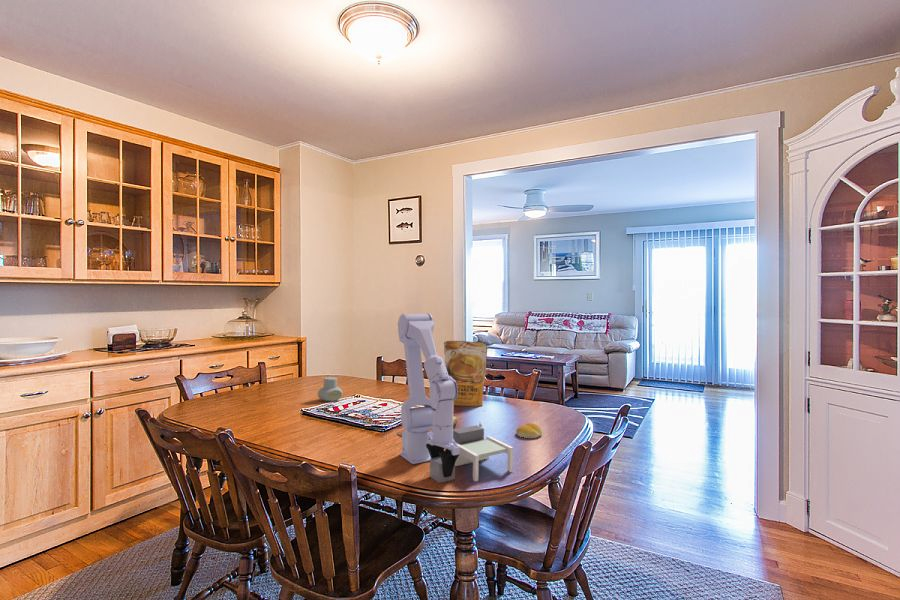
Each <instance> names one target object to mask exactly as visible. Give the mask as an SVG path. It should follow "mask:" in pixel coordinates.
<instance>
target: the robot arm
mask: <svg viewBox="0 0 900 600" xmlns="http://www.w3.org/2000/svg"><path fill="white" fill-rule="evenodd" d="M434 322H435V320H434V317H433V316H432V314H431V313H428V312H427V313H407V314H405V313H401V314H400V316H399V318H398V321H397V331H398V332H397V333H398V339H399V340H398V341H399V342H400V343H402V344H403V346H404V356H405V358H404V359H405V366H406V375H407V385H408V395H409V397H408V398H407V399H406V400H405V401H404V402H403V403H402V404H401V407H400V408H401V413H400V423H401V425H402V427H403V431H402V432H403V433H402V436H401V452H399V453H398V454H399V455H400V456H401V457H402V458H403V459H405V460H406V461H408V462H409V463H410V464H412V465H416V464H421V463H425V462H430V458H435V457H440V458H441V461H442V467H443V475H444V477H445V478H446V477H450V476H451V475H452V472H453V468H454V465H455V462H456V460H457V458H458V456H459V455H460V447H459V446H458V445H457V444H456V442H455V441H454V439H453V429H454V428H453V416H454V401H453V400H455V399H456V398H457V395H458V387H457V384H456V381H455V380H454V379H453V378H452V377H451V376H449V375H448V372H447V369H446V366H445V360H444V359H443V357H442V356H439V354H438V353H437V349H436V348H437V347H436V343H435V341H434V337H433V332H434V327H435V323H434ZM422 354H423V356H424V359H425V361H424V363H423V361H422V360H423V359H422ZM423 367H424V369H423ZM424 371H425V373H426V376H427V379H428V382H429V387H428V388H429V389H428V394H429V397H430V398H429V397H428V396H426V388H425V387H426V386H425V380H424V379H425V377H424ZM416 406H417V407H416ZM419 406H420V407H419ZM413 407H414V408H413ZM430 430H431V431H430Z"/></svg>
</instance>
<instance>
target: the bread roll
mask: <svg viewBox="0 0 900 600" xmlns="http://www.w3.org/2000/svg"><path fill="white" fill-rule="evenodd" d="M542 430H543V429H542V428H541V427H540V426H539V425H537V424H535V423H533V422H529V423H526V424H524V425H520V426H519V427H517V428H516V431H515V432H516V435H517V436H518V437H519V436H520V437H519V438H521V437H524V438H523V439H525V438H535V439H537V438H536V437H538V438H540V437H542V435H543V431H542ZM539 436H540V437H539Z"/></svg>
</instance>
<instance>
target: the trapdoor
mask: <svg viewBox="0 0 900 600" xmlns="http://www.w3.org/2000/svg"><path fill="white" fill-rule="evenodd" d="M453 439H454V441H455V442H456V443H458V444H459V445H461V446H463V447H465V448H467V449H468V450H470V451H472V452H474V453H476V454H477V455H479V458H483V457H487V456H489V457H490V456H496V455H500V454H503V453H504V454H505V452H506V448H504V447H502V446H500V445H498V444H496V443H494V442H492V441H490V440H488V439H487V438H485V428H483V427H480V426H479V425H472V426H466V427H465V426H464V427H460V428H453Z"/></svg>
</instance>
